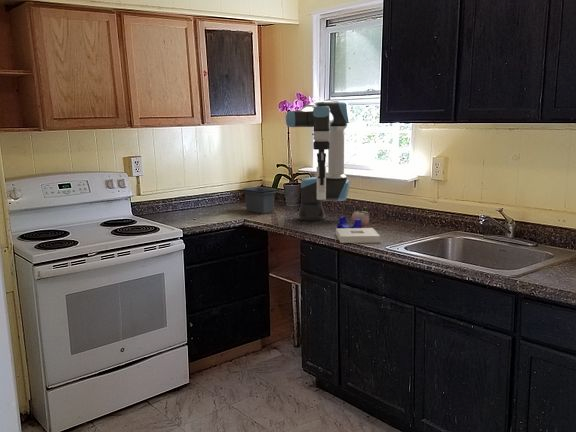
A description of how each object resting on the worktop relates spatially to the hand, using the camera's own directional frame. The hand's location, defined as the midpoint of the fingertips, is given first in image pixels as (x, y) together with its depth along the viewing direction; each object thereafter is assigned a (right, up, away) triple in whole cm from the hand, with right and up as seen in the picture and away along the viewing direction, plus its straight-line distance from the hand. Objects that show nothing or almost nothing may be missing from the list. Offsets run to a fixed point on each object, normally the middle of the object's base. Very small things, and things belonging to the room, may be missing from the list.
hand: (321, 191), depth 257 cm
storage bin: (-32, -9, +79) cm, 86 cm away
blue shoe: (+15, -19, +24) cm, 34 cm away
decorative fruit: (+22, -18, +27) cm, 39 cm away
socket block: (+17, -22, +4) cm, 28 cm away
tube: (0, -4, +1) cm, 4 cm away
